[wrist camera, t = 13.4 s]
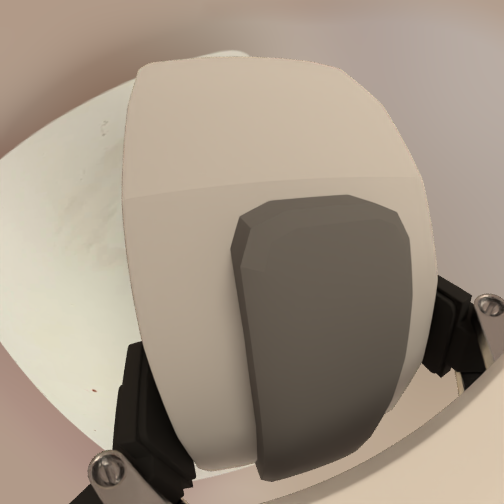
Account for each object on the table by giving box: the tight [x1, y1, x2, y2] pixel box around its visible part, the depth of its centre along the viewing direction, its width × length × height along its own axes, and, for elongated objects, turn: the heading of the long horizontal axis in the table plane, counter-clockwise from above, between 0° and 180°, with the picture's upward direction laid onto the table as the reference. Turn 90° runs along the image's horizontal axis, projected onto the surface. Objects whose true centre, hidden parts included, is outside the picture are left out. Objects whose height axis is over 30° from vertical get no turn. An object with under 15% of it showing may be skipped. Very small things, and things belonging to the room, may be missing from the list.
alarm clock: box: [122, 57, 438, 482], centre depth 14 cm, size 21×8×20 cm, turn 4°
